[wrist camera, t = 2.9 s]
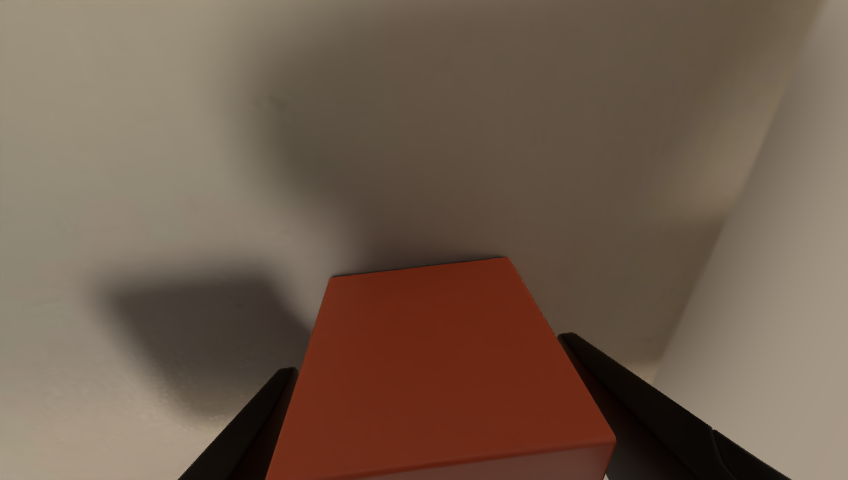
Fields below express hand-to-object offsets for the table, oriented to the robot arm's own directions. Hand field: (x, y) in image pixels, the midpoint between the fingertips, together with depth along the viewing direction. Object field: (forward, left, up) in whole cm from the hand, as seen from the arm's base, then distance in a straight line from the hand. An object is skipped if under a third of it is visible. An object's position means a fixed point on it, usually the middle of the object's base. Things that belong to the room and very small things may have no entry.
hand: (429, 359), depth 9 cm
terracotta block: (0, 0, -1) cm, 1 cm away
